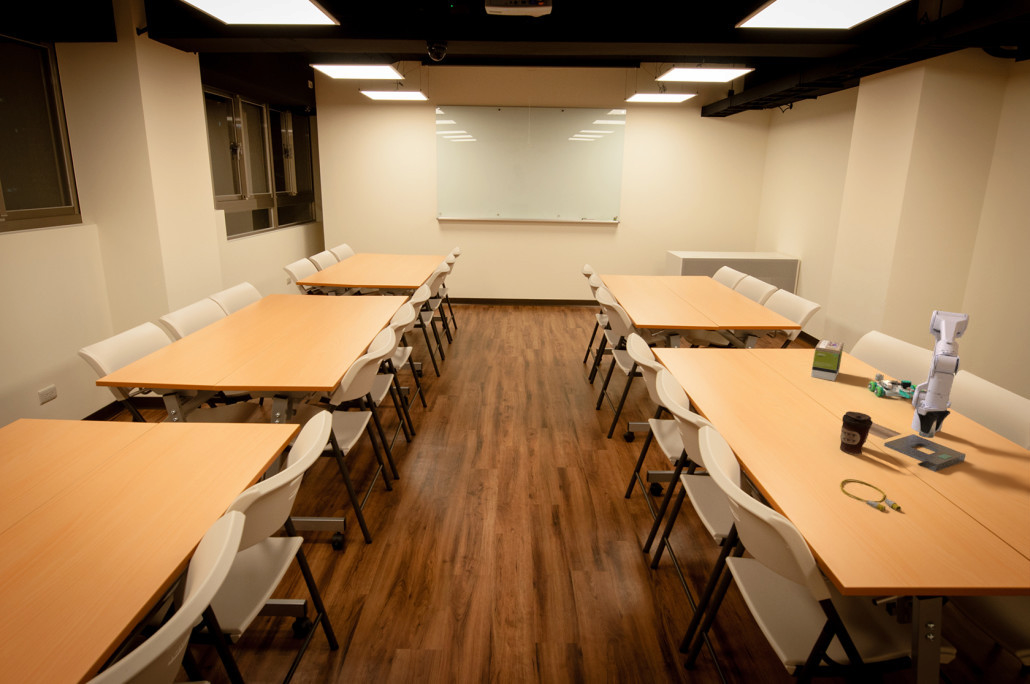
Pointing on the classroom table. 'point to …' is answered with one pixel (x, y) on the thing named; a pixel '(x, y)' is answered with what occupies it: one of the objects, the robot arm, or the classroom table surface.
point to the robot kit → (892, 387)
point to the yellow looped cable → (872, 503)
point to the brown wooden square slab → (882, 431)
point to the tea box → (827, 360)
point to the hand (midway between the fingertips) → (928, 431)
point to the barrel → (931, 433)
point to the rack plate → (930, 461)
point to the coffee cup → (854, 432)
